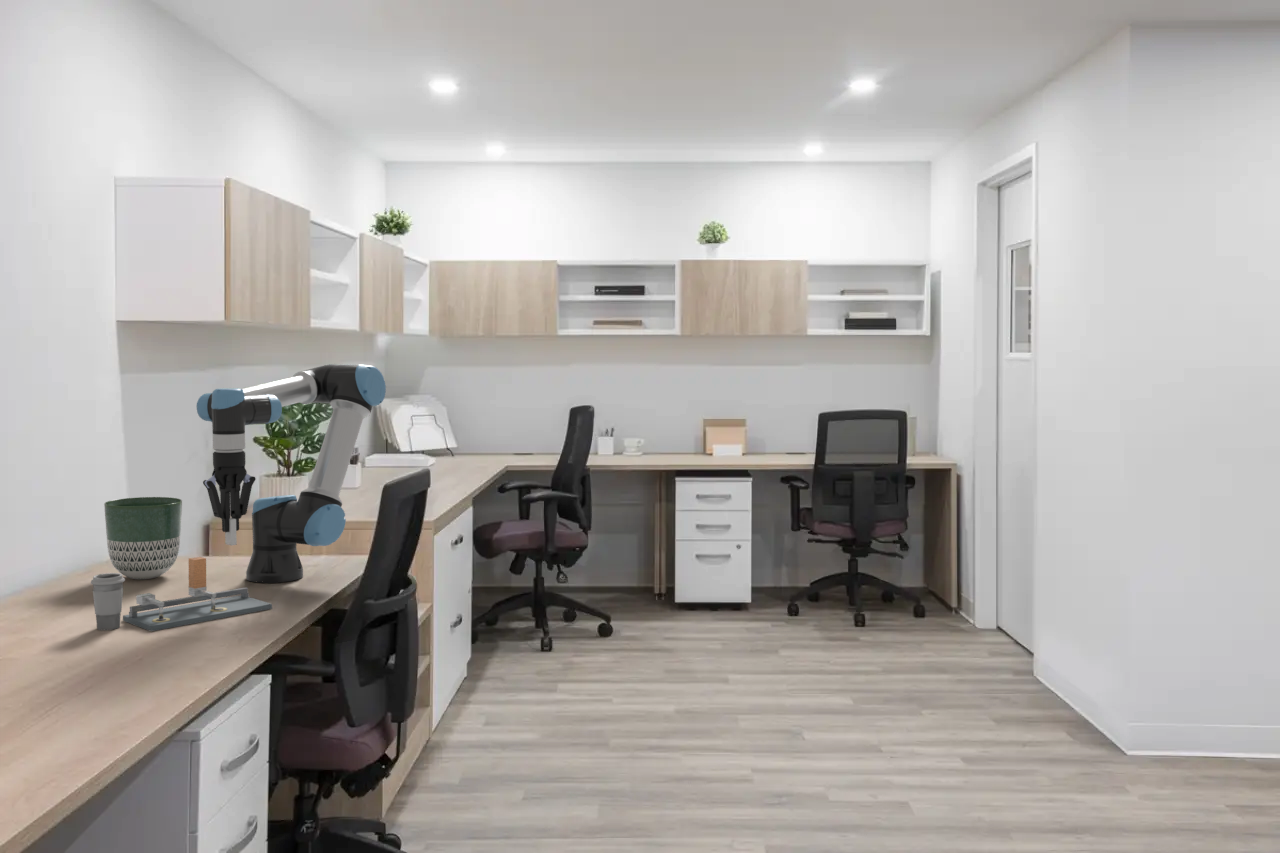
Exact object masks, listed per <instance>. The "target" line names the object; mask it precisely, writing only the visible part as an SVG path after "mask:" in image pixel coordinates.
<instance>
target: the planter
mask: <svg viewBox="0 0 1280 853" xmlns="http://www.w3.org/2000/svg"><path fill="white" fill-rule="evenodd" d="M103 505H104V506H103V507H104V519H105V520H104V521H105V532H106V533H105V534H106V535H105V536H106V545H107V546H106V547H107V553H108V556H109V560H110V562H111V564H112V566H113V568H115V570H117V571H118V573H120V574H122V576H124V577H126V578H129V579H131V580H151V579H155V578H158V577H161V576H162V575H164V574H166V573H167V571H169V570H170V569H171V568H172V567H173V565H174V564H175V563H176V560H177V559H178V555H179V553H180V552H179V551H180V548H181V547H180V546H181V534H182V533H181V532H182V513H183V500H182V499H180V498H177V497H165V496H163V497H162V496H147V497H146V496H145V497H144V496H140V497H129V498H128V497H127V498H119V499H118V498H117V499H112V500H108V501H105V502H104V504H103Z"/></svg>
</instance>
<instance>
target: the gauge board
mask: <svg viewBox="0 0 1280 853" xmlns="http://www.w3.org/2000/svg"><path fill="white" fill-rule="evenodd" d="M272 609H273V604H272V603H271V602H267V601H264V600H261V599H257V598H254V597H250V596H249V598H241V594H238V595H233V596H227V597H221V598H215V609H214V610H211V599H209V600H204V601H198V602H192V603H186V604H180V605H175V606H169V607H163V619H159V608H157V609H151V610H146V611H140V612H137V617H135V618H131V617H129V614H125V615H122V621H123V622H126V623H128V624H131V625H133V626H136V627H138V628H141V629H144V630H147V631H149V632H155V631H160V630H166V629H170V628H175V627H176V628H177V627H181V626H187V625H192V624H197V623H202V622H203V623H204V622H208V621H213V620H219V619H225V618H230V617H235V616H240V615H241V616H242V615H246V614H250V613H251V614H252V613H256V612H261V611H266V610H272Z"/></svg>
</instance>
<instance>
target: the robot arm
mask: <svg viewBox="0 0 1280 853" xmlns="http://www.w3.org/2000/svg"><path fill="white" fill-rule="evenodd" d="M386 388H387V386H386V381H385V378H384V375H383V374H382V372H381V371H380V370H379V369H378V368H377V367H376V366H374V365H369V364H361V363H360V364H343V363H342V364H340V363H332V364H323V365H320V366H316V367H312V368H309V369H305V370H301V371H297V372H296V373H294V374H293V376H291V377H286V378H282V379H278V380H272V381H269V382H264V383H259V384H254V385H251V386H247V387H246V386H245V387H242V388H239V387H237V388H234V387H233V388H231V387H229V388H224V387H223V388H215V389H214V390H213V391H212V392H208V393H206V392H205V393H204V394H202V395H201V396H199V398H198V400H197V402H196V414H198V416H199V418H200V419H201V420H202V421H204V422H205V421H206V422H211V423H212V425H211V426H212V427H211V428H212V449H213V450H214V452H212V466H213V470H212V473H211V476H210V477H209V478H207V479H204V480H203V481H202V483H203V486H204V487H205V488H206V490H207V494H208V497H209V498H208V499H209V501H210V502H209V503H210V506H211V509H212V512H213V516H214V517H215V518H219V519H221V530H222V532H223V533H225V534H224V538H225V539H224V540H225V541H224V542H225V543H224V544H225V545H227V546H236V545H237V543H238V541H237V532H238V531H239V530H240V519H241V518H242V516H244V515H247V511H248V507H249V502H250V498H251V494H252V489H253V485H254V483H255V481H256V479H257V478H256V476H254V475H253V476H252V475H250V474H248V472H247V469H246V452H245V451H244V450H245V449H246V426H249V425H250V426H251V425H264V424H265V425H268V424H272V423H275V422H277V421H278V420H279V419H280V418H281V416H282V413H283V412H282V411H283V408H284V407H287V406H291V405H294V404H299V403H300V404H303V405H309V404H314V403H315V404H317V403H318V404H319V403H320V404H329V405H330V406H331V408H332V410H333V411H332V413H331V416H330V420H329V422H328V425H327V430H326V432H325V435H324V438H323V441H322V444H321V448H320V450H319V453H318V456H317V460H316V463H315V466H314V469H313V472H312V475H311V478H310V481H309V484H308V487H307V488H305V489H303V490H302V491H300V493H299V496H298V498H297V496H296V495H295V494H288V495H287V494H284V495H275V496H268V497H261V498H257V499H255V500H254V502H253V503H252V513H251V521H252V525H251V526H252V527H251V528H252V553H251V557H250V560H249V562H248V564H247V565H248V566H247V568H246V571H245V574H246V576H245V578H246V579H245V580H247V581H249V582H252V583H262V584H263V583H265V584H267V583H268V584H269V583H271V584H274V583H275V584H276V583H285V582H286V583H287V582H293V581H296V580H300V579H302V578H303V577H304V568H303V564H302V562H301V559H300V556H299V553H298V550H297V544H298V545H304V546H305V545H308V546H311V547H321V546H322V547H326V546H331V545H332V544H333V543H336V542H337V540H339V539H340V537H341V535H342V534H343V533H344V530H345V527H346V523H347V522H346V520H347V519H346V513H345V511H344V509H343V508H342V505H343V501H342V499H341V498H340V493H341V492H342V491H341V490H342V487H343V484H344V480H345V477H346V474H347V472H348V468H349V465H350V462H351V458H352V455H353V452H354V449H355V446H356V442H357V439H358V437H359V433H360V430H361V426H362V423H363V420H364V419H365V418H367V417H369V416H370V415H371V413H372V410H373V407H377V406H379V405H380V404H382V403H383V402H384V399H385V397H386V391H387V390H386ZM241 484H242V485H241ZM216 485H218V487H219V488H218V489H217V487H216ZM241 486H242V487H241ZM218 490H219V492H218ZM219 494H220V496H219Z"/></svg>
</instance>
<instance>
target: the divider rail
mask: <svg viewBox="0 0 1280 853" xmlns="http://www.w3.org/2000/svg"><path fill="white" fill-rule="evenodd" d="M214 593H216V597H215V599H222V598H228V597H234V596H239V595H241V598H249V597H250V593H249V588H248V587H239V588H234V589H227V590H222V591H217V592H216V591H215V592H214ZM135 596H136V598H135V599H136V604H137V605H133V606H129V611H128V615H129V617H131V618H135V617H137V613H140V612H146V611H152V610H158V609H159V619H163V609H164V608H169V607H175V606H181V605H187V604H193V603H199V602H204V601H210V600H211V597H209V596H206V595H202V596H196V597H194V596H191V595H190V596H187V597H180V598H175V599H168V600H167V599H166V600H158V599H156V594H153V593H150V592H148V593H143V594H142V593H141V594H136V595H135Z"/></svg>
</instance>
